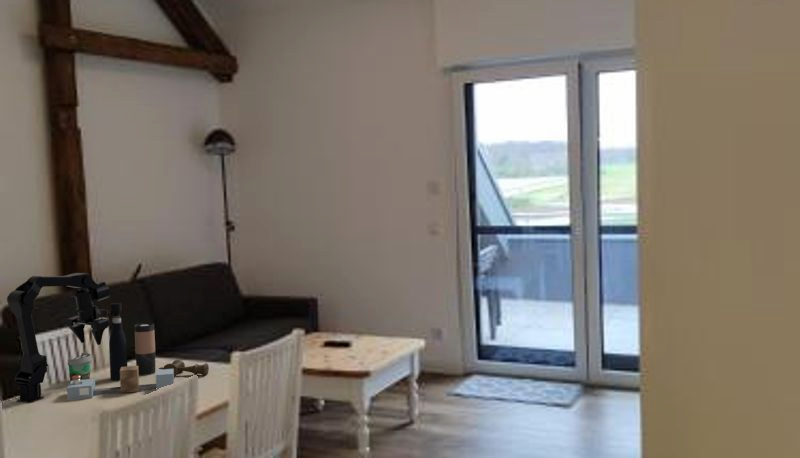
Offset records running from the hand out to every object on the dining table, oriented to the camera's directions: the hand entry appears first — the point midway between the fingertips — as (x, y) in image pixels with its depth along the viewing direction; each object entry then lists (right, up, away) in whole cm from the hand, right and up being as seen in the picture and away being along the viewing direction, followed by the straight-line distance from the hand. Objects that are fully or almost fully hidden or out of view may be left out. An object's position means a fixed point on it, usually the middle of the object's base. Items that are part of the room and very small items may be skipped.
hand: (91, 343), depth 279 cm
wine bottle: (+9, -15, +5) cm, 18 cm away
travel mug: (+17, -14, +13) cm, 26 cm away
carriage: (+20, -15, -13) cm, 28 cm away
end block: (+32, -15, -9) cm, 37 cm away
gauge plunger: (+3, -14, -18) cm, 23 cm away
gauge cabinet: (+4, -16, -17) cm, 24 cm away
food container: (-4, -15, +2) cm, 16 cm away
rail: (+19, -15, -13) cm, 28 cm away
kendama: (+33, -14, +9) cm, 37 cm away
